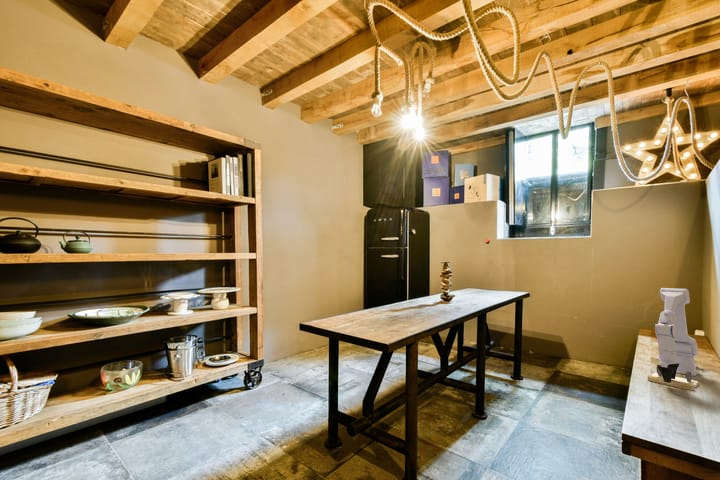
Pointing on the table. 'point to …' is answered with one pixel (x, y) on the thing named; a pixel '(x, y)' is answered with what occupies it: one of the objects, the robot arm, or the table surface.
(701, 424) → the table surface
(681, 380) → the hook stand
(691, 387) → the wooden bar
